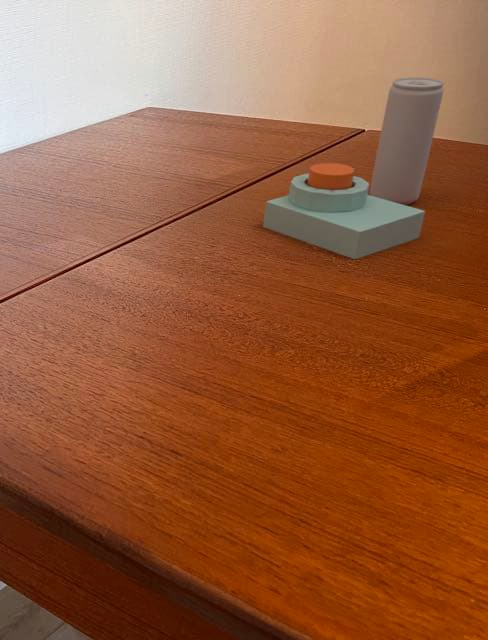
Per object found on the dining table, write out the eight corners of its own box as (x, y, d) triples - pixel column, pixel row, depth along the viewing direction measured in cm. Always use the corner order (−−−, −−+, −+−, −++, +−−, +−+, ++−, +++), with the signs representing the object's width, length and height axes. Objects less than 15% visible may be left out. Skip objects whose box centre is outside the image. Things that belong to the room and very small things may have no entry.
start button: (360, 187, 83) (364, 169, 82) (331, 195, 81) (334, 177, 80) (326, 178, 86) (329, 160, 85) (298, 185, 84) (300, 168, 83)
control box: (419, 238, 82) (430, 192, 79) (354, 260, 78) (364, 212, 76) (324, 208, 90) (331, 166, 88) (262, 227, 87) (268, 183, 84)
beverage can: (402, 210, 88) (429, 89, 82) (358, 200, 92) (381, 82, 86) (427, 199, 91) (455, 80, 85) (383, 189, 94) (407, 75, 88)
